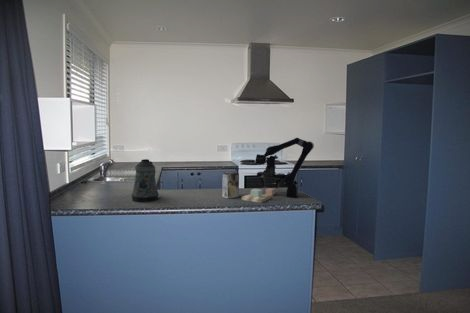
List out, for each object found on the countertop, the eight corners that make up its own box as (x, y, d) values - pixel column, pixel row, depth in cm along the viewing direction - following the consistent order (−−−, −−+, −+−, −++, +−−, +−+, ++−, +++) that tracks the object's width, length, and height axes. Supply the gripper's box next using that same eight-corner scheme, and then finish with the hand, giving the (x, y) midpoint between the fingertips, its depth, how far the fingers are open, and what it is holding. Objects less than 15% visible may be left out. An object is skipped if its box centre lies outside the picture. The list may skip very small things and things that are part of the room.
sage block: (262, 195, 218) (262, 189, 218) (258, 197, 213) (258, 191, 213) (254, 194, 221) (254, 188, 220) (250, 196, 216) (250, 190, 216)
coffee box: (233, 195, 228) (233, 171, 226) (238, 197, 223) (239, 172, 221) (221, 196, 222) (222, 172, 221) (227, 198, 217) (227, 174, 215)
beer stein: (131, 202, 204) (130, 161, 201) (132, 195, 222) (131, 158, 220) (159, 201, 208) (158, 161, 205) (157, 194, 227) (157, 157, 224)
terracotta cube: (274, 194, 232) (274, 188, 231) (271, 195, 228) (271, 190, 227) (268, 193, 234) (268, 188, 233) (265, 195, 230) (265, 189, 230)
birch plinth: (270, 198, 220) (270, 195, 219) (261, 202, 208) (261, 199, 208) (251, 195, 227) (251, 192, 227) (241, 199, 215) (241, 196, 215)
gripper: (253, 165, 226) (252, 188, 228) (278, 167, 217) (278, 191, 219) (260, 163, 236) (260, 185, 238) (285, 165, 226) (285, 188, 228)
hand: (270, 187), depth 230 cm, fingers open, 9 cm apart
